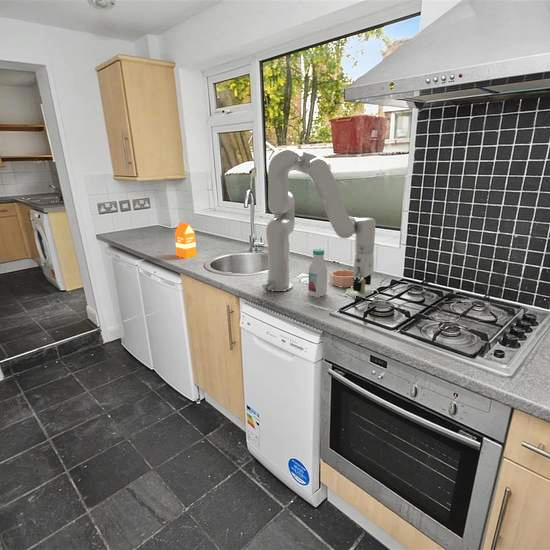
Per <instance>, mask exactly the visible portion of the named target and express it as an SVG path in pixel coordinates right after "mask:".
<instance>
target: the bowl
mask: <svg viewBox="0 0 550 550" xmlns="http://www.w3.org/2000/svg"><path fill="white" fill-rule="evenodd" d="M353 273H354V270H349V269H339V270H338V269H337V270H334V271H331V272H330V273H329V282H330V284H331V283H332V284H333V285H337V286H342V287H350V288H351V286H354V282H353ZM359 278H360V277H358V279H359ZM332 284H331V285H332ZM333 285H332V286H333Z"/></svg>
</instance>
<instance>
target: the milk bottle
mask: <svg viewBox="0 0 550 550" xmlns="http://www.w3.org/2000/svg"><path fill="white" fill-rule="evenodd" d="M312 256H313V257H312V260H311V263H310V264H309V266H308V289H307V291H308V293H307V294H308V296H309V295H311V296H310V297H312V296H314V297H313V298H321V297H320V296H324V295H326V296H327V290H328V289H327V288H328V287H327V285H328V267H327V264H326V262H325V258H324V256H325V249H322V248H315V249H314V248H313V250H312ZM324 297H325V296H324Z"/></svg>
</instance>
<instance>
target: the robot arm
mask: <svg viewBox="0 0 550 550" xmlns="http://www.w3.org/2000/svg"><path fill="white" fill-rule="evenodd" d="M331 167H332V165H331V163H330V161H329V160H328V159H327V158H326V157H322V156H319V155H316V154H312V153H311V152H307V151H304V150H301V149H298V148H292V147H291V148H290V147H289V148H288V147H287V148H285V149H282V150H279V151H278V152H277V153H276V154H274V156H273V157H272V158H271V160H270V161H269V164H268V172H267V173H268V174H267V177H268V179H267V181H268V183H267V185H268V186H267V190H268V191H267V194H268V195H267V199H268V200H267V206H268V209H269V211H270V212H271V214H273V219H271V220H269V222H268V224H267V226H266V230H265V234H266V242H267V275H268V276H267V280H266V283H264V284H262V286H261V287H262V289H265V290H267V289H269V290H273V291H284V290H288V289H291V288H292V287H294V286H293V283H291V281H290V241H289V235H290V234H291V233H293V231H294V228H295V217H296V215H295V213H296V211H295V207H296V206H295V205H296V204H295V199H294V195H293V194H292V193H291V192H290V191H289V184H290V182H289V173H290V172H291V171H297V172H299V173H302V174H305V175H307V176H308V177H309V178H310V179H309V180H310V181H311V183H312V185H313V186H314V189H315V190H316V192H317V195H318V196H319V199H320V201H321V203H322V206H323V208H324V211H325V213H326V216H327V219H328V221H329V223H330V224H331V227H332V228H333V230H334V233H335V234H336V235H337V236H338V237H339V238H340V239H349V238H351V237H352V236H353V235H355V241H354V243H355V244H354V252H355V256H354V263H353V264H354V265H353V271H354V273H353V282H354V286H353V290H354V291H358V292H360V291H361V279H365V280H366V281H365V286H371V284H372V274H373V273H374V264H375V263H374V257H375V256H374V255H375V254H374V250H375V237H376V224H377V223H376V222H377V221H376V219H374V218H372V217H355V216H350V215H349V214H348V212H347V210H346V208H345V205H344V202H343V196H342V191H341V188H340V187H339V184H338V182H337V181H336V179H335V176H334V174H333V172H332V170H331ZM358 277H359V278H358ZM266 288H267V289H266ZM292 289H293V288H292ZM292 289H291V290H292ZM269 290H268V291H269ZM273 291H272V292H273Z"/></svg>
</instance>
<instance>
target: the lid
mask: <svg viewBox="0 0 550 550" xmlns="http://www.w3.org/2000/svg"><path fill="white" fill-rule="evenodd" d="M365 281H366V280H365V279H363V278H362V279H361V291H360V292H358V291H354V290H353V287H352V288H351V287H350V288H346V290H345V291H346V292H345V293H346V295H348V296H350V297H352V298H355V297H356V296H360V297H366V296H368V295H369V294H371V293H372V292H373V291H375V290H374V289H373V288H369V287H366V284H365Z"/></svg>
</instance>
